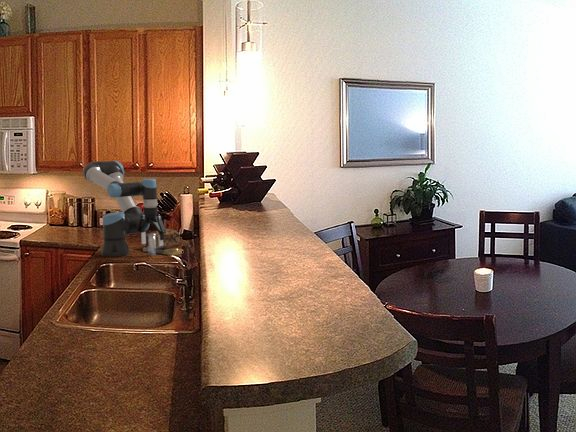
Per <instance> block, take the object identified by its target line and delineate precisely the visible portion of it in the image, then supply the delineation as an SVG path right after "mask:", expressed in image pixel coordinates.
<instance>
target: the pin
mask: <svg viewBox="0 0 576 432" xmlns="http://www.w3.org/2000/svg"><path fill="white" fill-rule="evenodd" d="M149 233H150V234H148V233H146V235H147V236H148V249H149V252H148V256H149V257H155V256H157V253H156V239H155V235H156V234H155V233H152V232H149Z"/></svg>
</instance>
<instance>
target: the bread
mask: <svg viewBox="0 0 576 432" xmlns="http://www.w3.org/2000/svg"><path fill="white" fill-rule="evenodd" d="M165 229H166V233H164V240H163V246H159V241H158V234H159V232H158V231H157V230H156V231H151V232H149V233H147V234H150V233H155V234H156V235H155V239H156V246H159V247H167V248H171V247H174V246H177V245H179V244H180V237H181V236H180V233H179V232H178V231H177V230H176V229H174V228H165ZM147 234H146V244H145V246H146V247H147V246H148V236H147Z"/></svg>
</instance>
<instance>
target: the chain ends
mask: <svg viewBox="0 0 576 432" xmlns="http://www.w3.org/2000/svg"><path fill="white" fill-rule="evenodd" d="M142 251H143V252H144V253H145V252H146V253H149V249H148V246H147V247H143V248H142ZM182 251H183V252H184V249H181V248H177V247H159V246H156V254H160V255H167V256H172V255H174V256H177V255H182V254H183V253H182Z"/></svg>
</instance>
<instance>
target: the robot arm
mask: <svg viewBox="0 0 576 432" xmlns="http://www.w3.org/2000/svg"><path fill="white" fill-rule="evenodd" d="M82 174H83V177H84V179H86V181H88V182H90V183H91V184H93V183H94V184H96V185H97V186H99V187H101V188H102V189H104V190H106V191H107V192H106V193H107V195H108V197H110V198H115V200H116V202H117V204H118V206H119V208H120V211H115V212H110V213H107V214H104V215H103V216H102V231H103V232H102V234H103V244H102V247H101V251H100V254H101V256H102V257H108V258H111V257H113V258H115V257H123V256H128V255H129V254H130V248H129V244H128V242H127V241H126V235H131V234H132V235H133V234H140V238H141V239H140V241H141V245H146V235H147V233H146V232H147V231H148V230H149V228H150V224H151V225H153V226H154V227H155V229H156V231H158V232H159V234H158V241H159V246H163V240H164V233H166V229H167V228H166V227H165V225H164V222H163V220H162V216H161V215H158V214H159V213H158V211H159V209H158V207H157V206H158V195H157V194H158V193H157V192H158V190H157V189H158V188H157V187H158V186H157V181H156V178H143V179H142V180H141V181H134V182H124V176H125V170H124V166H123V164H122V163H121V162H120V161H118V160H105V161H104V160H102V161H100V160H98V161H96V160H95V161H90V162H88V163H87V164H86V165H84V167H83V170H82ZM136 196H142V202H143V203H142V204H143V205H142V206H143V207H142V208H143V209H141V207H139V206H137V205H136V203H135V202H134V200H133V197H136ZM142 210H143V211H142Z"/></svg>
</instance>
